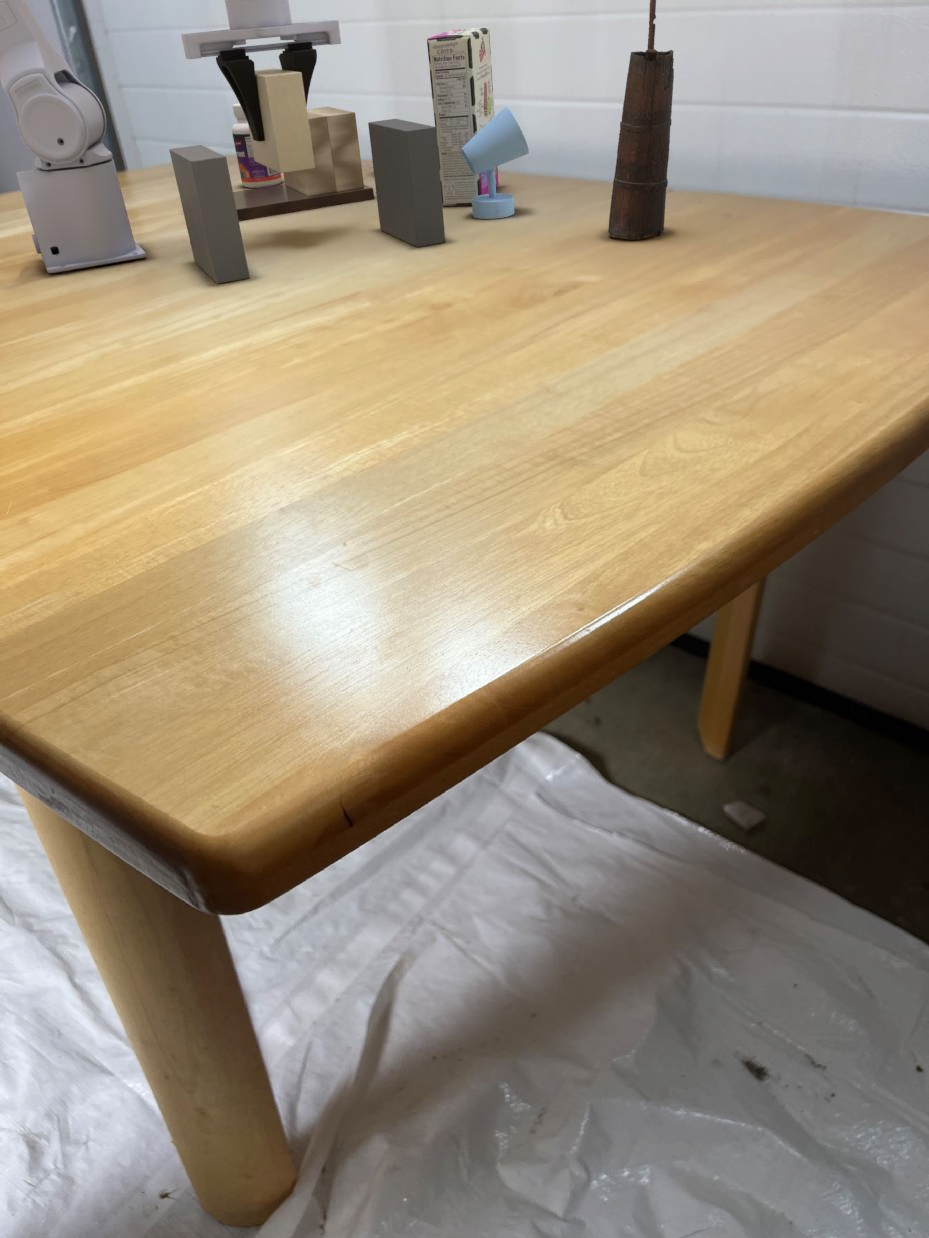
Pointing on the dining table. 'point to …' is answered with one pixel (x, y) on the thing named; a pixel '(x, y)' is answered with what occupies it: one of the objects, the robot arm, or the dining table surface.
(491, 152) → the spotlight
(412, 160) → the grey books
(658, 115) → the butter churn
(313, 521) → the dining table surface
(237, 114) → the pill bottle
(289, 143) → the cream book
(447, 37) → the candy bar box
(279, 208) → the shelf board
